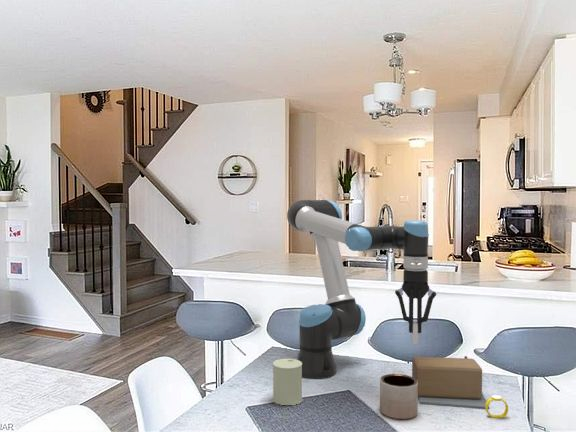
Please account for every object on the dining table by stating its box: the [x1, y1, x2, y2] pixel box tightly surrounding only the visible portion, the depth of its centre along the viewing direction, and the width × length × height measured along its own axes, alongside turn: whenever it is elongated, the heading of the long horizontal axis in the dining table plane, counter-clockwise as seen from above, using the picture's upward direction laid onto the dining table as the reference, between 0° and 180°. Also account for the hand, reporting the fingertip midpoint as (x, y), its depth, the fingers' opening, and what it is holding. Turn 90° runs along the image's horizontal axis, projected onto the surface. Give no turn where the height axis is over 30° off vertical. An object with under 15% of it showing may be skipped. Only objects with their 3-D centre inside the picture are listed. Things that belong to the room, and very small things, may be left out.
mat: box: [418, 393, 490, 410], centre depth 155 cm, size 20×16×1 cm
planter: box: [379, 373, 419, 421], centre depth 143 cm, size 11×11×10 cm
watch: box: [484, 394, 509, 419], centre depth 140 cm, size 6×3×6 cm, turn 84°
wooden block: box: [411, 356, 483, 399], centre depth 156 cm, size 10×10×20 cm
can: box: [272, 358, 303, 406], centre depth 152 cm, size 9×9×12 cm
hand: (414, 342), depth 156 cm, fingers closed
